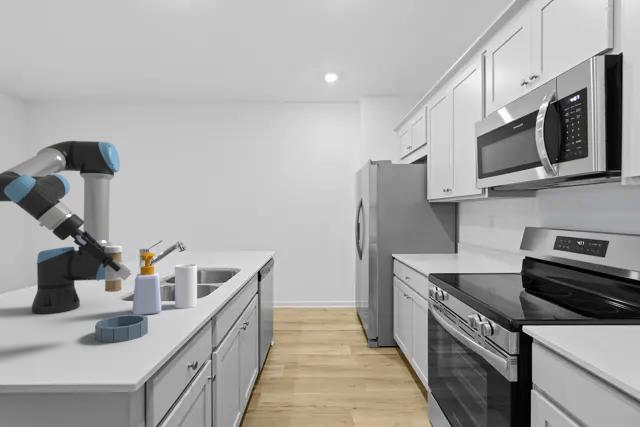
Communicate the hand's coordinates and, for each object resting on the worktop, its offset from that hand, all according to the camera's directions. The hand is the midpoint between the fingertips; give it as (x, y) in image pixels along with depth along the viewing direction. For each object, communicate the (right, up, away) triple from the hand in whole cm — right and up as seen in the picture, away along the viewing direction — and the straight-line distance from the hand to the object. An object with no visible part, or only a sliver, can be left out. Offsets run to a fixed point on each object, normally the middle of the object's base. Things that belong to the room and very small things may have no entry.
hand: (127, 275), depth 115 cm
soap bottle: (-5, -18, +23) cm, 30 cm away
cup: (+6, -18, +34) cm, 39 cm away
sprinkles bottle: (-3, -4, -2) cm, 6 cm away
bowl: (-2, -18, 0) cm, 18 cm away
